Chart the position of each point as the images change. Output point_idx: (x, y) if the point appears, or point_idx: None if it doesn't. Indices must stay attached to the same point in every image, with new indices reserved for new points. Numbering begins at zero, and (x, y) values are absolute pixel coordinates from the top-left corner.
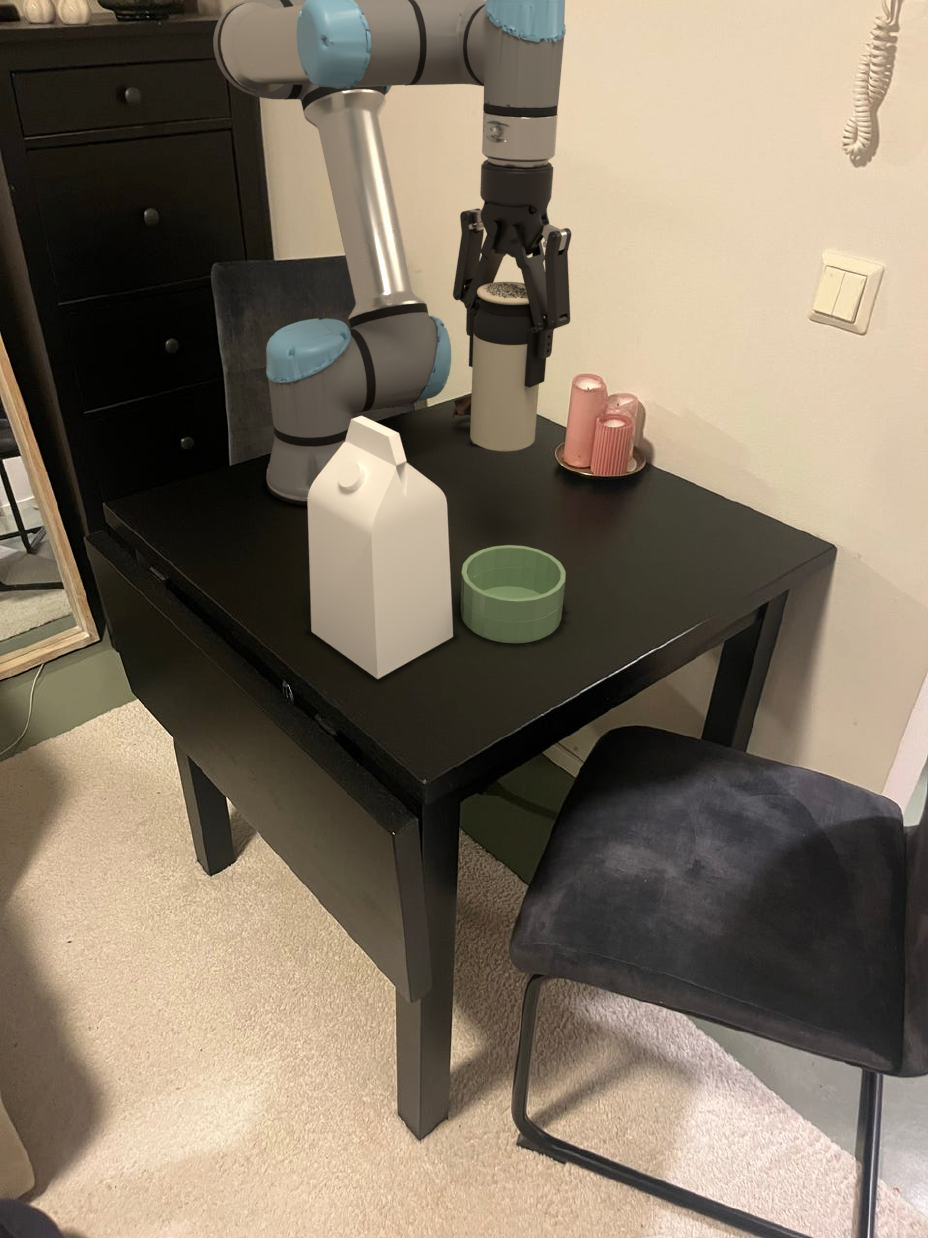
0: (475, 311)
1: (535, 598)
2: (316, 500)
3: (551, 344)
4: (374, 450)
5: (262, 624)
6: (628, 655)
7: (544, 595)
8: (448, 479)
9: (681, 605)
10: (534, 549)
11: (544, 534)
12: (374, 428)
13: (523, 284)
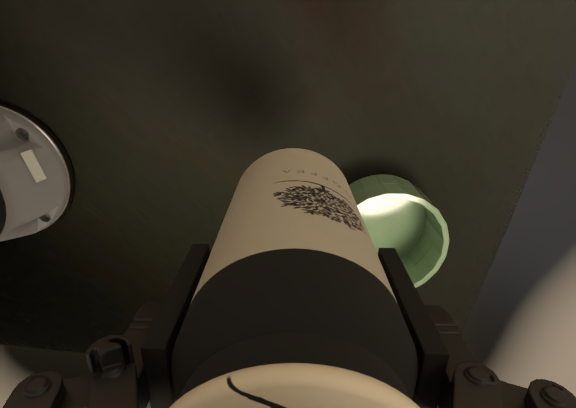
0: (162, 400)
1: (436, 269)
2: None
3: (459, 335)
4: None
5: None
6: (510, 201)
7: (442, 260)
8: (96, 26)
9: (532, 83)
10: (381, 196)
11: (307, 60)
12: None
13: (271, 403)
